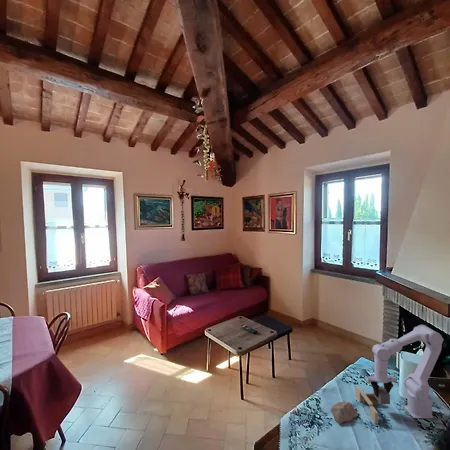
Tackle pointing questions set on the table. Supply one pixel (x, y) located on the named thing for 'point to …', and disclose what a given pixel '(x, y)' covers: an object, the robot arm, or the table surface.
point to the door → (371, 398)
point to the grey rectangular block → (383, 396)
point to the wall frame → (372, 410)
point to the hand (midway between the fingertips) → (381, 395)
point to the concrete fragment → (343, 412)
